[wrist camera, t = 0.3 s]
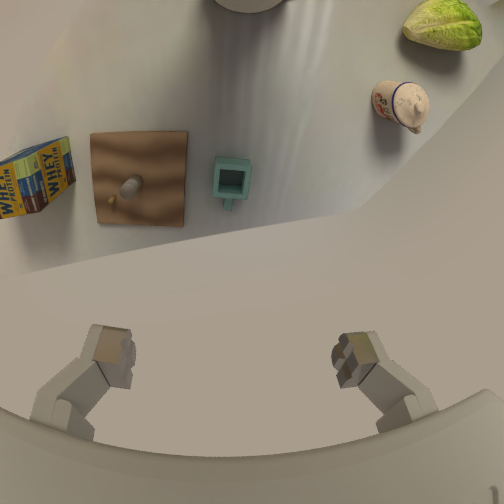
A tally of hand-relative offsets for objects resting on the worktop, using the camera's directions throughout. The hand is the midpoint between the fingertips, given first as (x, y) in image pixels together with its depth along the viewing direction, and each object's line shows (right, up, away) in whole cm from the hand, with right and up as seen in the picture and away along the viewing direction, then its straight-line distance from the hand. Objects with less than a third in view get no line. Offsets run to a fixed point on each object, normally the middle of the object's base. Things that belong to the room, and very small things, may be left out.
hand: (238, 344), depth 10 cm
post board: (-23, +18, +41) cm, 50 cm away
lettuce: (+40, +54, +24) cm, 71 cm away
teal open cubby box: (-4, +17, +44) cm, 47 cm away
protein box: (-45, +23, +36) cm, 62 cm away
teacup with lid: (+30, +34, +36) cm, 58 cm away
